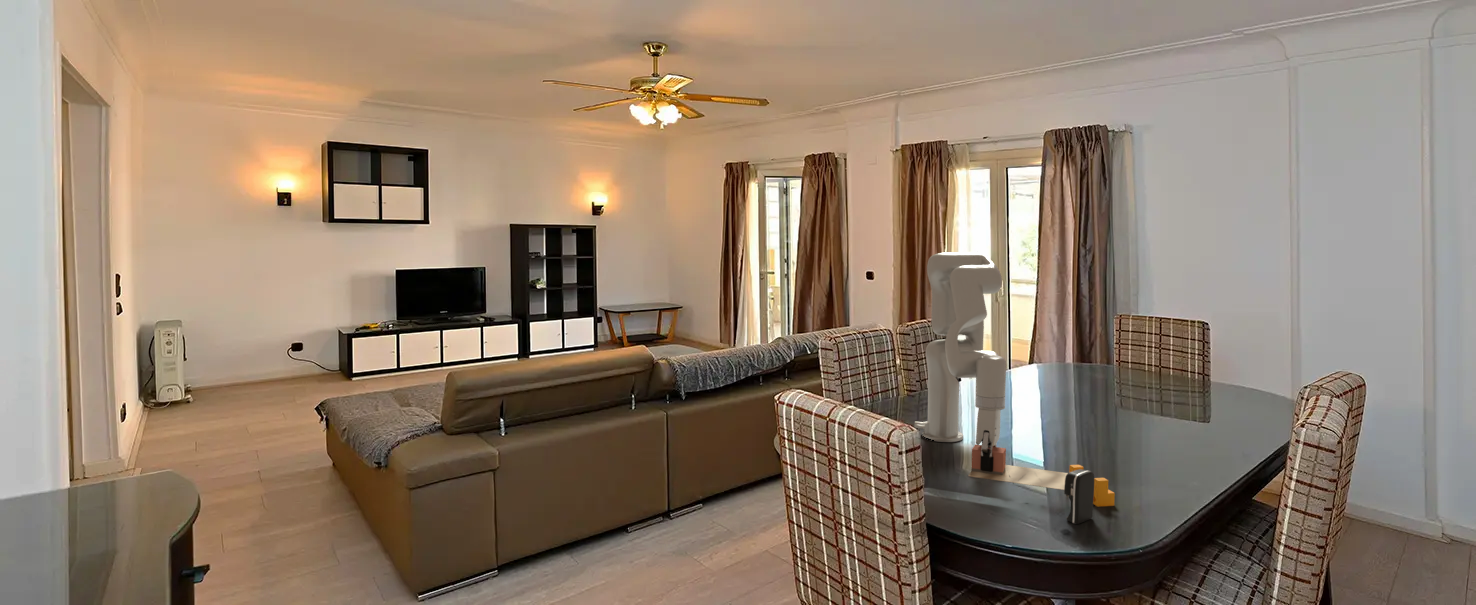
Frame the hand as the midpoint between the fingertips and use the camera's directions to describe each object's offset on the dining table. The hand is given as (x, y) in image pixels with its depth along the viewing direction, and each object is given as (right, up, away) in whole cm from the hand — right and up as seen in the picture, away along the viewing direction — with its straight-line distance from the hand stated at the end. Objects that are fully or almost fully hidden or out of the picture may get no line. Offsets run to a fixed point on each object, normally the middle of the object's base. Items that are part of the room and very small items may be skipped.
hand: (988, 467), depth 197 cm
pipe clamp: (+20, -4, -16) cm, 26 cm away
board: (+7, -3, -3) cm, 8 cm away
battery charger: (+10, -5, -30) cm, 32 cm away
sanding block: (0, -1, 0) cm, 1 cm away
